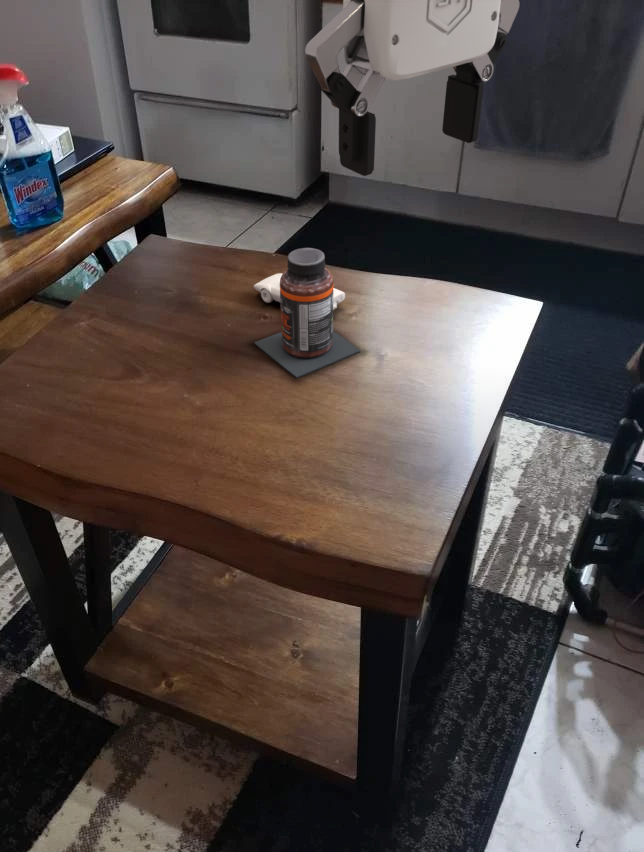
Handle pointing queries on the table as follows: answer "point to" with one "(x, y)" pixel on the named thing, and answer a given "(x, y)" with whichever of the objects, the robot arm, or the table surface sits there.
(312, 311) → the supplement bottle
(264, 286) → the toy car
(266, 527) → the table surface
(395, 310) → the table surface
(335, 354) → the mat
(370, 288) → the table surface
